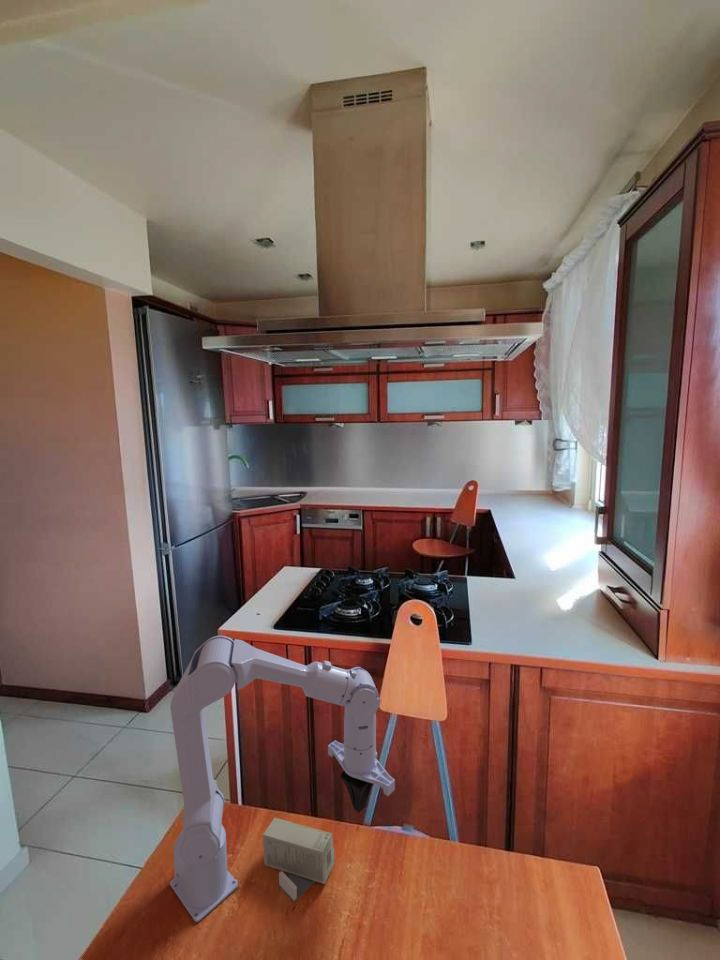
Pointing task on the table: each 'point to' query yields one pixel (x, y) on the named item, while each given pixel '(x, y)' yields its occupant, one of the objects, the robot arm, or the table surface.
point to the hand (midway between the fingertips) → (359, 807)
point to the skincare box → (299, 850)
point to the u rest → (294, 884)
